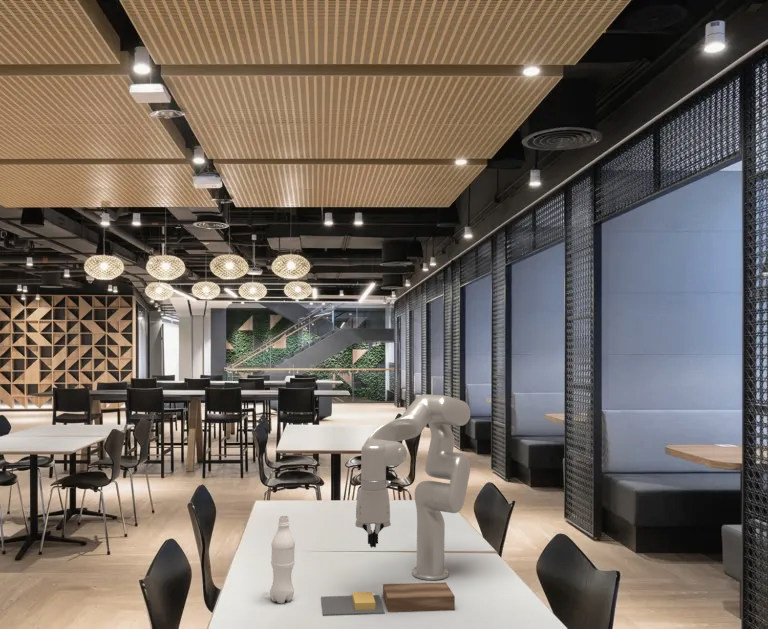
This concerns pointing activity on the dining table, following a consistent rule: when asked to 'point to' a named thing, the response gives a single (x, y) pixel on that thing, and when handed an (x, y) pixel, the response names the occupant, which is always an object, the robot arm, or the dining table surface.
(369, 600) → the yellow rectangular block
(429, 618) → the dining table surface
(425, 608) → the brown wooden block
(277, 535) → the water bottle
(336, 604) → the mat
